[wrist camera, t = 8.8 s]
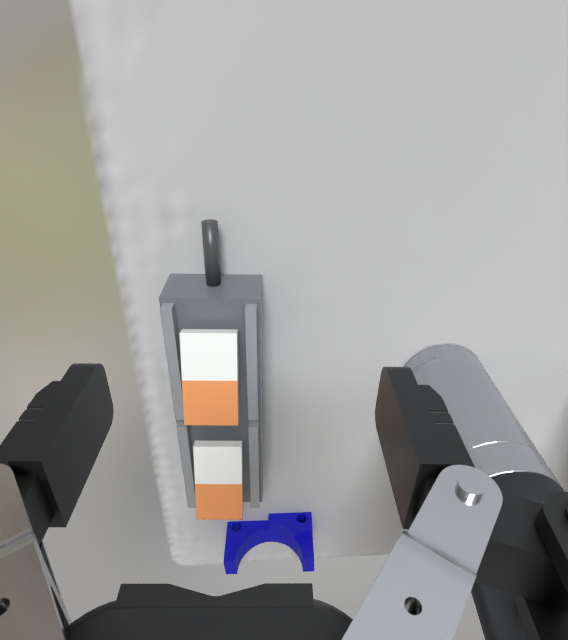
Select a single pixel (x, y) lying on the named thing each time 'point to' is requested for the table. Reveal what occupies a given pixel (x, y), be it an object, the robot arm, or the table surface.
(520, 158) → the table surface
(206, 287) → the box
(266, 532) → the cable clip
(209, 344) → the rocker
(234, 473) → the block
